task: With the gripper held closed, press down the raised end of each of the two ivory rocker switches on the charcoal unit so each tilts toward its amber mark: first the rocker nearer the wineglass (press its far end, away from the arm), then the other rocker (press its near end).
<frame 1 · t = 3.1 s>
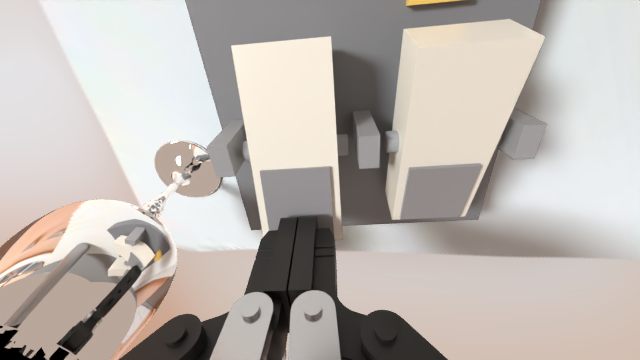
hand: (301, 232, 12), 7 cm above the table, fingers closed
switch unit: (355, 107, 16), on the table
wineglass: (189, 168, 19), on the table
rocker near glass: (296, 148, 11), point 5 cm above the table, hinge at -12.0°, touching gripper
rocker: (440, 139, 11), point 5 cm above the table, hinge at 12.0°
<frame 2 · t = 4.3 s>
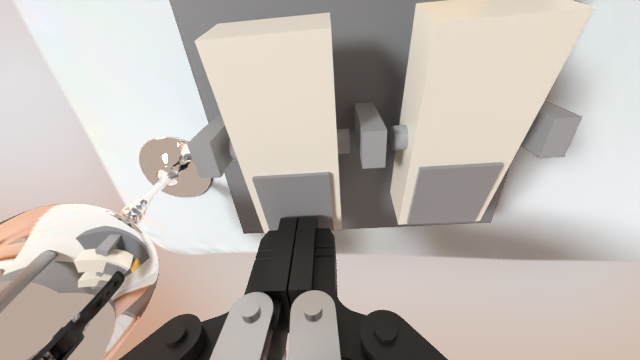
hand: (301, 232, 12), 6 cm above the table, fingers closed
switch unit: (357, 99, 14), on the table
wineglass: (177, 167, 17), on the table
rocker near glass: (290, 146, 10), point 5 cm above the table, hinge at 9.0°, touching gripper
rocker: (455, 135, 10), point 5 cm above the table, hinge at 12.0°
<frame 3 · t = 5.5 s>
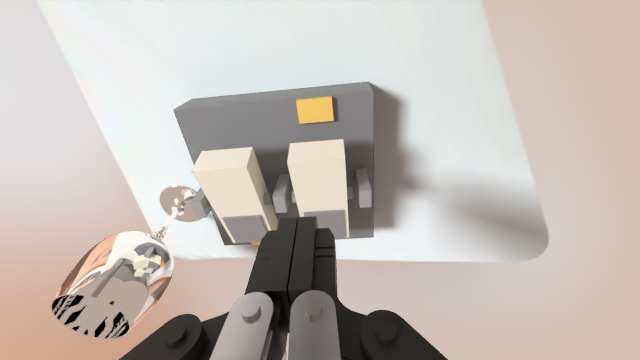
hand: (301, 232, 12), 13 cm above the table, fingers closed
switch unit: (290, 164, 24), on the table
wineglass: (183, 202, 27), on the table
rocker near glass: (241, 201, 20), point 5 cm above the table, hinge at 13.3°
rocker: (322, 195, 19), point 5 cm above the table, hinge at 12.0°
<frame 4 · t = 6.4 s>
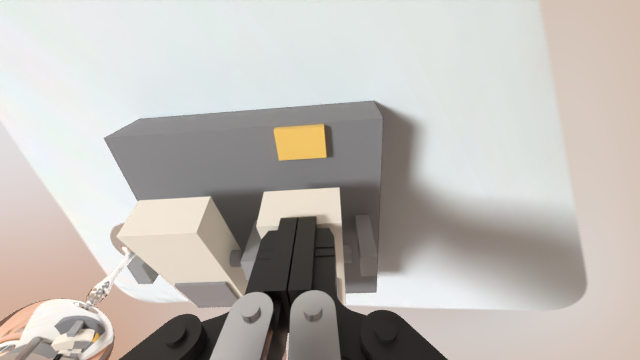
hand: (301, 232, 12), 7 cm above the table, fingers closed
switch unit: (272, 200, 19), on the table
wineglass: (141, 241, 22), on the table
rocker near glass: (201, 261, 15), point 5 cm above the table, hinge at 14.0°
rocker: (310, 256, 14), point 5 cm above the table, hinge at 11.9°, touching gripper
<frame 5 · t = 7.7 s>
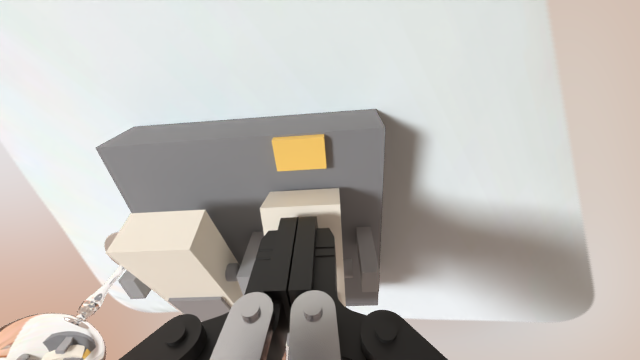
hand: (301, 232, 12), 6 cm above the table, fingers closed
switch unit: (271, 209, 19), on the table
wineglass: (136, 250, 21), on the table
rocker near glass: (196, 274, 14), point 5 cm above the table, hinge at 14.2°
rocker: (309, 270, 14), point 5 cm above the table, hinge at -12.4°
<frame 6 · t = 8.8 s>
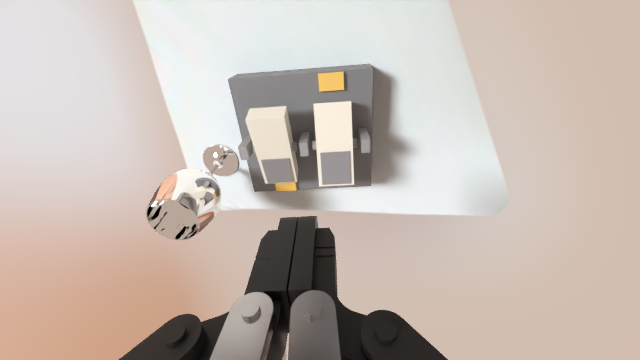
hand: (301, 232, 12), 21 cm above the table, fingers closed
switch unit: (308, 128, 31), on the table
wineglass: (221, 159, 34), on the table
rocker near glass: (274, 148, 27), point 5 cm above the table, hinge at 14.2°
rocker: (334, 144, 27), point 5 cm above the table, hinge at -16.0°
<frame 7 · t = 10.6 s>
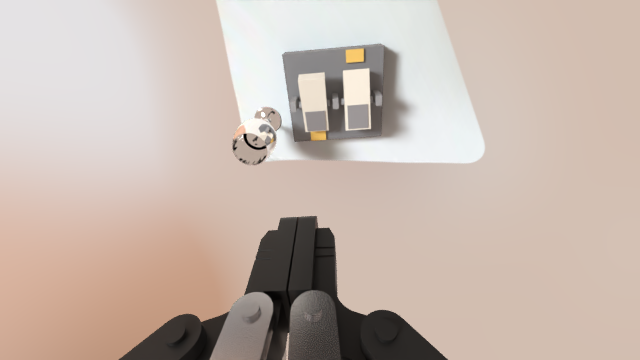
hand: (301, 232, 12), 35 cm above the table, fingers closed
switch unit: (334, 93, 43), on the table
wineglass: (268, 119, 45), on the table
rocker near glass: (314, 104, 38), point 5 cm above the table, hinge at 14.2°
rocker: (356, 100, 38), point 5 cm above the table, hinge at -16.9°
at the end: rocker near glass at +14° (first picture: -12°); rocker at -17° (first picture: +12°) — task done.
